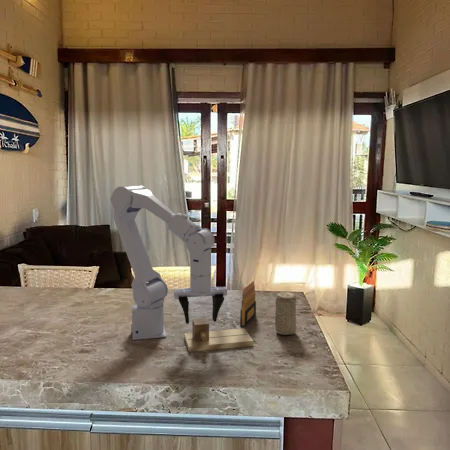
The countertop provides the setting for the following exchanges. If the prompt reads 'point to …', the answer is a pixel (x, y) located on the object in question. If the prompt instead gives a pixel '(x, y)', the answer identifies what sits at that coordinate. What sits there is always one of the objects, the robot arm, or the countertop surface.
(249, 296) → the ammunition clip
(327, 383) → the countertop surface
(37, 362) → the countertop surface
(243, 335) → the board
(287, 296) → the carving
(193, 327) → the mallet
